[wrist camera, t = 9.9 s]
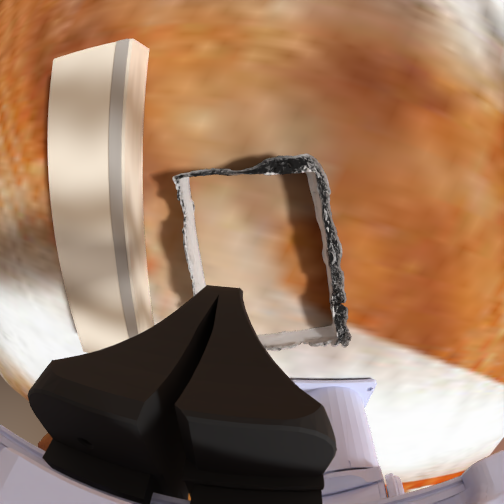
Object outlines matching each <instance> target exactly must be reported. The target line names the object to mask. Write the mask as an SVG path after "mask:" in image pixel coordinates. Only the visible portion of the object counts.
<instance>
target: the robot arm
mask: <svg viewBox="0 0 504 504" xmlns="http://www.w3.org/2000/svg"><path fill="white" fill-rule="evenodd" d="M376 384H377V383H376V380H374V379H365V380H291V379H290V378H289V377H288V376H287V375H286V374H285V373H284V372H283V371H282V370H281V368H280V367H279V366H278V365H277V364H276V363H275V362H274V360H273V359H272V358H271V356H270V355H269V354H268V352H267V351H266V349H265V348H264V346H263V345H262V343H261V342H260V340H259V338H258V336H257V335H256V333H255V331H254V329H253V327H252V325H251V322H250V320H249V317H248V315H247V312H246V309H245V306H244V302H243V291H242V290H241V289H240V288H231V287H220V286H209V285H207V286H205V287H204V288H203V289H202V290H200V291H199V292H198V293H197V294H196V295H195V296H194V297H192V298H191V299H190V300H189V301H188V302H186V303H185V304H184V305H183V306H181V307H180V308H179V309H178V310H176V311H175V312H174V313H172V314H171V315H169V316H168V317H167V318H165V319H164V320H162V321H161V322H159V323H158V324H156V325H154V326H153V327H151V328H149V329H147V330H146V331H144V332H142V333H140V334H138V335H136V336H134V337H131V338H129V339H127V340H125V341H122V342H120V343H118V344H115V345H113V346H110V347H107V348H104V349H101V350H98V351H94V352H91V353H87V354H83V355H79V356H74V357H69V358H64V359H58V360H52V361H51V363H50V364H49V365H48V366H47V368H46V369H45V370H44V372H43V373H42V374H41V375H40V377H39V378H38V379H37V381H36V382H35V383H34V385H33V386H32V388H31V389H30V390H29V393H28V399H29V403H30V406H31V408H32V410H33V411H34V413H35V415H36V416H37V418H38V419H39V420H40V422H41V423H42V425H43V426H44V428H45V429H46V430H47V432H48V433H49V434H50V436H51V437H52V438H53V439H52V441H51V443H50V444H49V446H48V448H47V450H46V451H44V450H42V449H40V448H38V447H37V446H35V445H33V444H31V443H30V442H28V441H26V440H24V439H23V438H21V437H19V436H18V435H16V434H15V433H13V432H11V431H10V430H8V429H7V428H5V427H4V426H2V425H1V424H0V504H504V451H503V450H501V451H499V452H496V453H494V454H492V455H490V456H488V457H485V458H483V459H481V460H479V461H477V462H476V463H474V464H473V465H472V466H470V467H469V468H468V469H467V470H466V471H465V472H464V473H463V474H462V475H461V476H459V477H456V478H453V479H451V480H448V481H445V482H442V483H439V484H436V485H433V486H430V487H427V488H423V489H420V490H416V491H413V492H409V493H404V489H403V485H402V482H401V479H400V477H398V476H395V475H393V474H392V473H390V474H387V475H385V479H386V483H387V486H386V488H387V493H388V498H387V493H386V488H385V484H384V479H383V475H382V472H381V468H380V466H379V463H378V458H377V454H376V450H375V446H374V442H373V438H372V434H371V430H370V426H369V422H368V418H367V415H366V411H365V406H366V405H367V403H368V401H369V399H370V397H371V395H372V393H373V391H374V389H375V387H376ZM189 495H190V497H191V501H190V500H188V496H189Z"/></svg>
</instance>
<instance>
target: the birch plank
mask: <svg viewBox="0 0 504 504" xmlns="http://www.w3.org/2000/svg"><path fill="white" fill-rule="evenodd" d="M148 57H149V48H147V47H146V46H144V45H142V44H141V43H139V42H138V41H136V40H135V39H125V40H120V41H117V42H113V43H109V44H104V45H100V46H96V47H92V48H89V49H85V50H81V51H78V52H74V53H71V54H68V55H65V56H62V57H59V58H56V59H54V60H53V67H52V75H51V84H50V95H49V110H48V174H49V189H50V201H51V210H52V219H53V226H54V233H55V240H56V246H57V252H58V257H59V262H60V267H61V272H62V277H63V281H64V286H65V290H66V294H67V298H68V302H69V305H70V309H71V313H72V316H73V320H74V323H75V327H76V330H77V333H78V336H79V339H80V342H81V345H82V348H83V351H84V352H87V353H91V352H94V351H98V350H101V349H104V348H107V347H110V346H113V345H115V344H118V343H120V342H122V341H125V340H127V339H129V338H131V337H134V336H136V335H138V334H140V333H142V332H144V331H146V330H147V329H149V328H151V327H153V326H154V322H153V314H152V307H151V299H150V290H149V281H148V271H147V260H146V247H145V232H144V213H143V121H144V102H145V88H146V77H147V66H148Z"/></svg>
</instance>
